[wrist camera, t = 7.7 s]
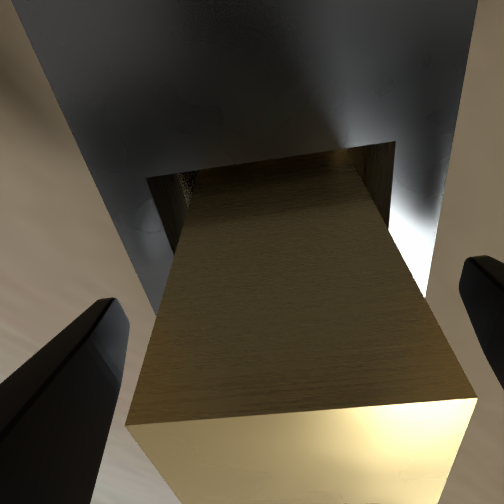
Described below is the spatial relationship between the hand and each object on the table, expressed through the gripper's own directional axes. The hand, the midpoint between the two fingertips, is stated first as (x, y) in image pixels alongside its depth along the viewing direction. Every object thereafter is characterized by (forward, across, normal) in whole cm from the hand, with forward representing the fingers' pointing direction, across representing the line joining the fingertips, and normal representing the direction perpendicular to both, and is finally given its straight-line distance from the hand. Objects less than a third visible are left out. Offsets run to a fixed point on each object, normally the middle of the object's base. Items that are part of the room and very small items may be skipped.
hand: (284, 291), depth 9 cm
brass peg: (+4, 0, 0) cm, 4 cm away
